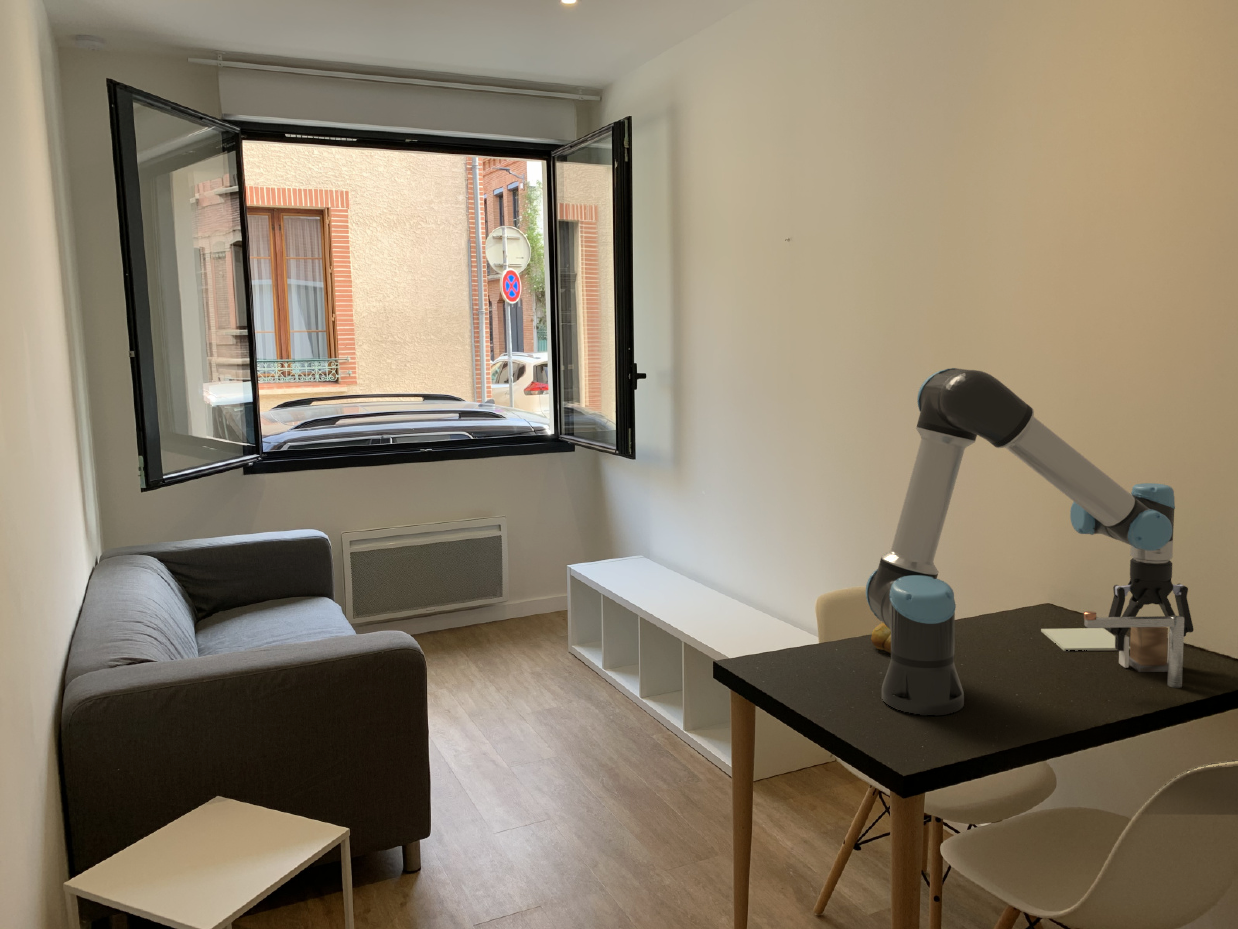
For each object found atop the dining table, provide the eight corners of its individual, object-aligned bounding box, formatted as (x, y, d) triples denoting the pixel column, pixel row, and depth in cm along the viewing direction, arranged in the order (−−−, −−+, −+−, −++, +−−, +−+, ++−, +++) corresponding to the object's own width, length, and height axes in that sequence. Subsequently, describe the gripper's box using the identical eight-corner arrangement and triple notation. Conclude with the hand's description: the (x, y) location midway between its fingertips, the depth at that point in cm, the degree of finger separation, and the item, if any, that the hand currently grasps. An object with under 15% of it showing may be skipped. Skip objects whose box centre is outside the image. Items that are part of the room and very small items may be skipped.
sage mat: (1064, 651, 204) (1064, 648, 204) (1041, 631, 218) (1041, 629, 218) (1130, 650, 203) (1130, 647, 203) (1103, 630, 217) (1103, 628, 217)
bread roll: (937, 655, 205) (937, 620, 204) (905, 664, 201) (905, 628, 200) (893, 640, 217) (893, 606, 215) (862, 648, 212) (862, 614, 211)
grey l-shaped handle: (1184, 687, 181) (1187, 613, 179) (1085, 688, 183) (1086, 614, 181) (1177, 683, 183) (1180, 609, 181) (1080, 684, 185) (1081, 611, 183)
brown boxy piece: (1139, 672, 190) (1140, 629, 189) (1124, 661, 197) (1125, 620, 195) (1171, 671, 190) (1173, 629, 189) (1156, 661, 196) (1157, 619, 195)
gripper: (1103, 564, 187) (1101, 672, 190) (1217, 562, 186) (1212, 670, 188) (1088, 556, 195) (1086, 659, 198) (1197, 553, 193) (1193, 658, 196)
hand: (1147, 665), depth 193 cm, fingers open, 9 cm apart
